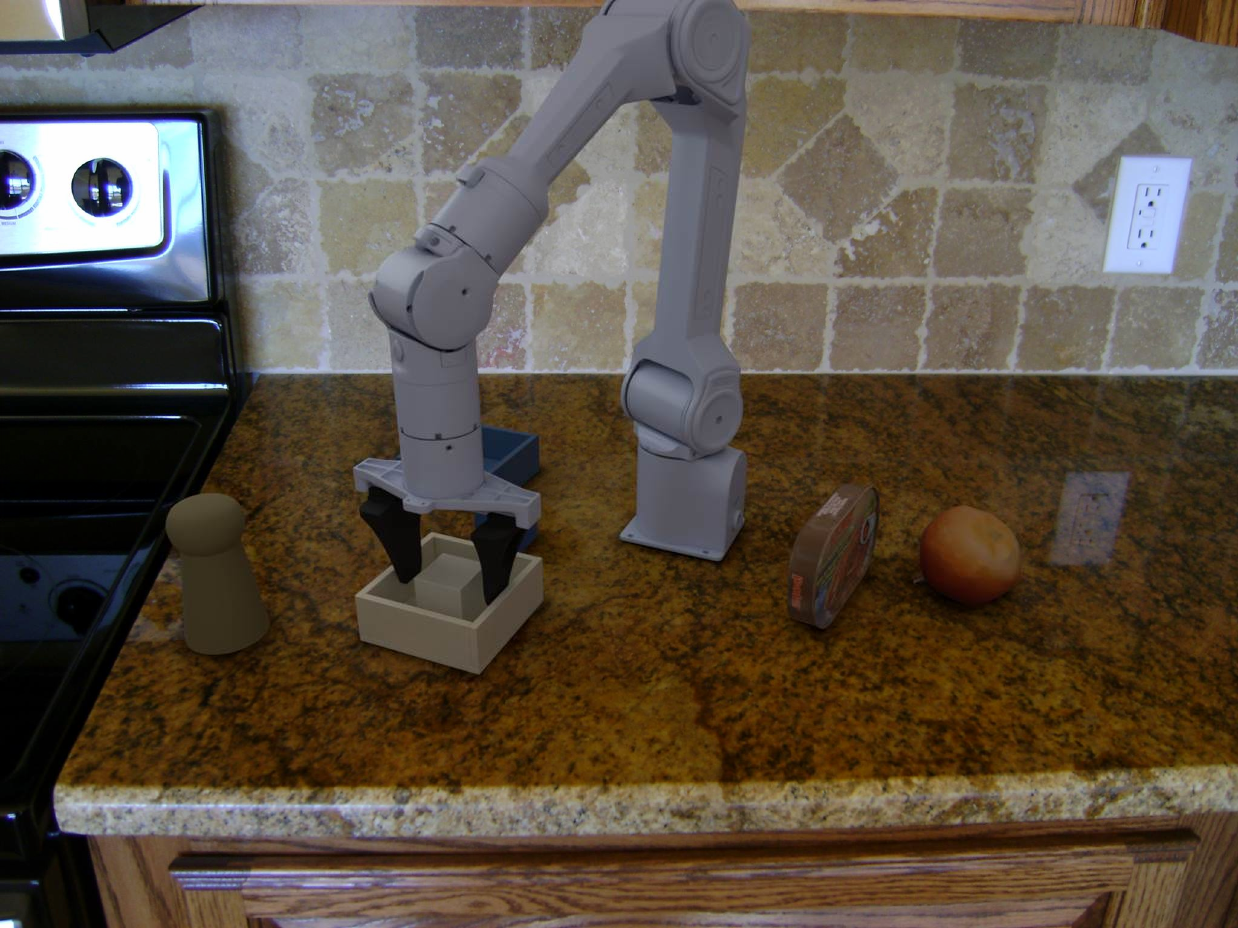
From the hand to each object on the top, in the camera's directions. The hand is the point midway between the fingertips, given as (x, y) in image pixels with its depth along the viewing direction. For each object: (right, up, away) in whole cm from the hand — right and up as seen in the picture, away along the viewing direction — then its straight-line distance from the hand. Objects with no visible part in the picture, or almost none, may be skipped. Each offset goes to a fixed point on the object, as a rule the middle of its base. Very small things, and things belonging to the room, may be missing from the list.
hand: (452, 588), depth 71 cm
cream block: (0, -2, +1) cm, 2 cm away
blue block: (+3, +3, +12) cm, 13 cm away
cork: (-17, -3, 0) cm, 17 cm away
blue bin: (-2, +8, +23) cm, 24 cm away
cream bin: (0, -3, +1) cm, 3 cm away
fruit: (+41, -1, +6) cm, 41 cm away
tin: (+30, -1, +5) cm, 30 cm away
